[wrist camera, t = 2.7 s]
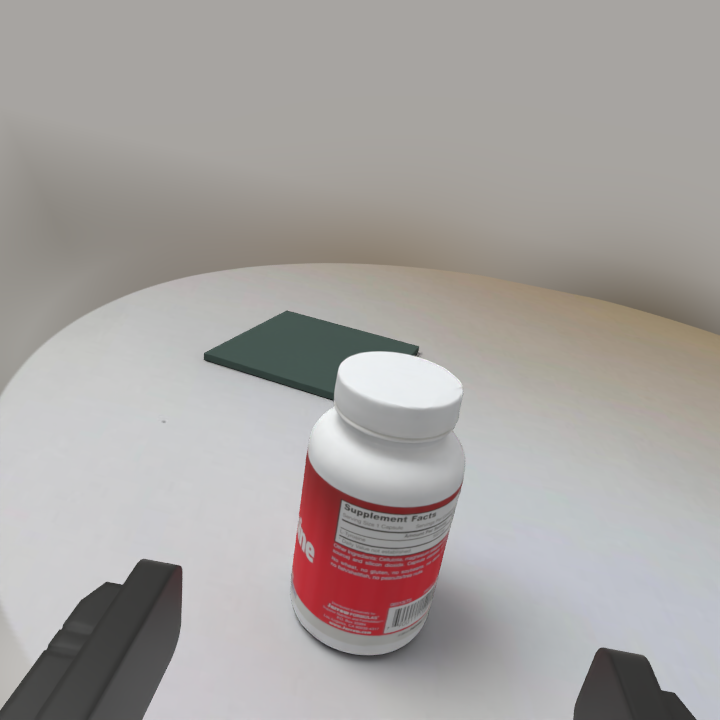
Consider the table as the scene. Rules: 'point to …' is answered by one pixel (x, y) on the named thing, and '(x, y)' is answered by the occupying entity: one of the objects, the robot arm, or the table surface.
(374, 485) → the pill bottle
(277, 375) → the mat
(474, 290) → the table surface
